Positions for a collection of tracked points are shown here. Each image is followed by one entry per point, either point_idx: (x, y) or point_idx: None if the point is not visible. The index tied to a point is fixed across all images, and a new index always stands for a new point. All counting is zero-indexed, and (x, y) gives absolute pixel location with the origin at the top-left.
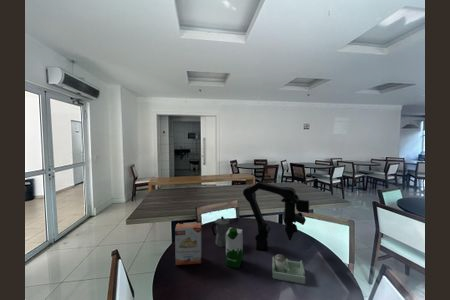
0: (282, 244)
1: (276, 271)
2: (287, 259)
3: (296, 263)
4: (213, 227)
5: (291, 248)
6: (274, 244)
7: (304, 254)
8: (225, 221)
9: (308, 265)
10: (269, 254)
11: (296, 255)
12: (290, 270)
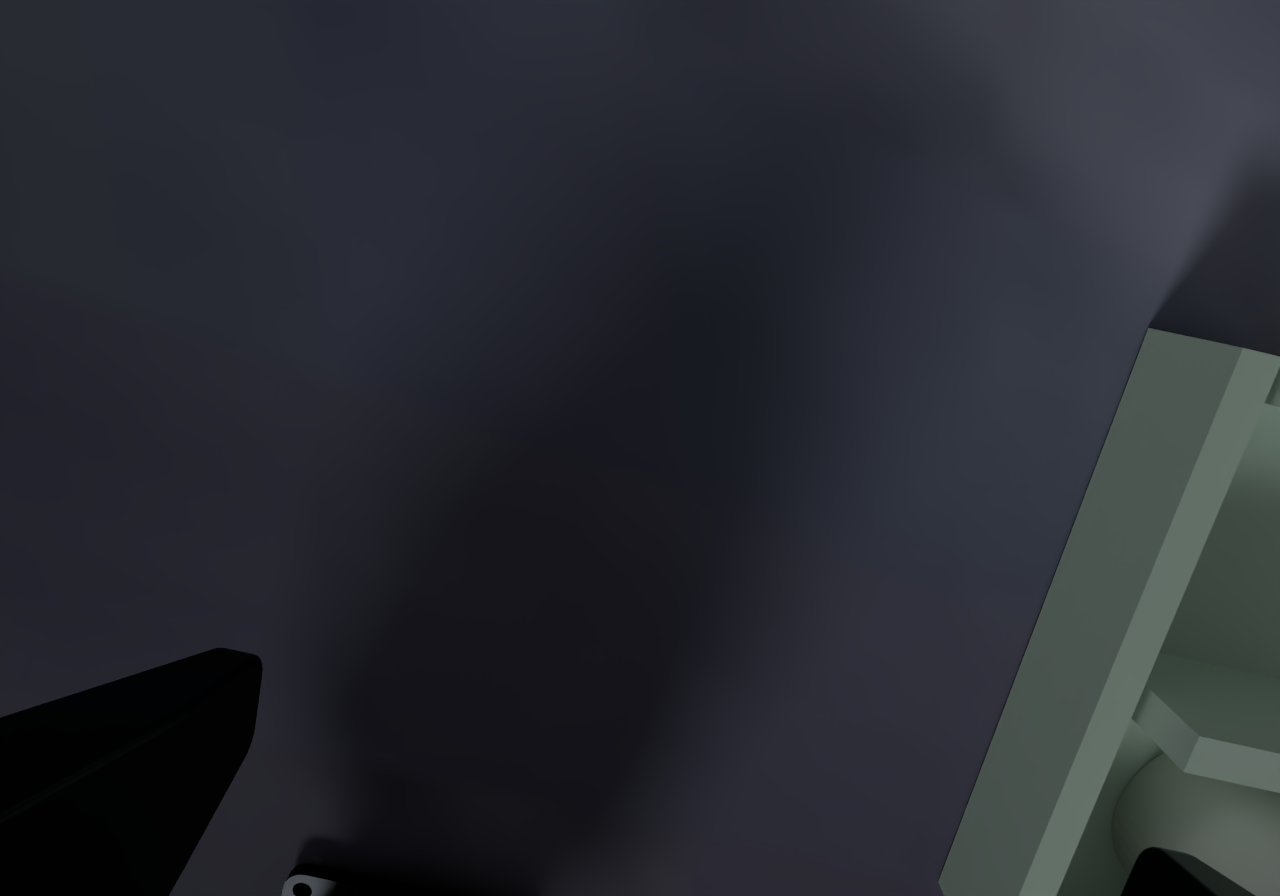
0: (195, 476)
1: None
2: (1238, 754)
3: (1212, 480)
4: None
5: (361, 289)
6: None
7: (622, 10)
8: None
9: (1074, 101)
10: (637, 869)
11: (669, 264)
12: (1249, 625)
